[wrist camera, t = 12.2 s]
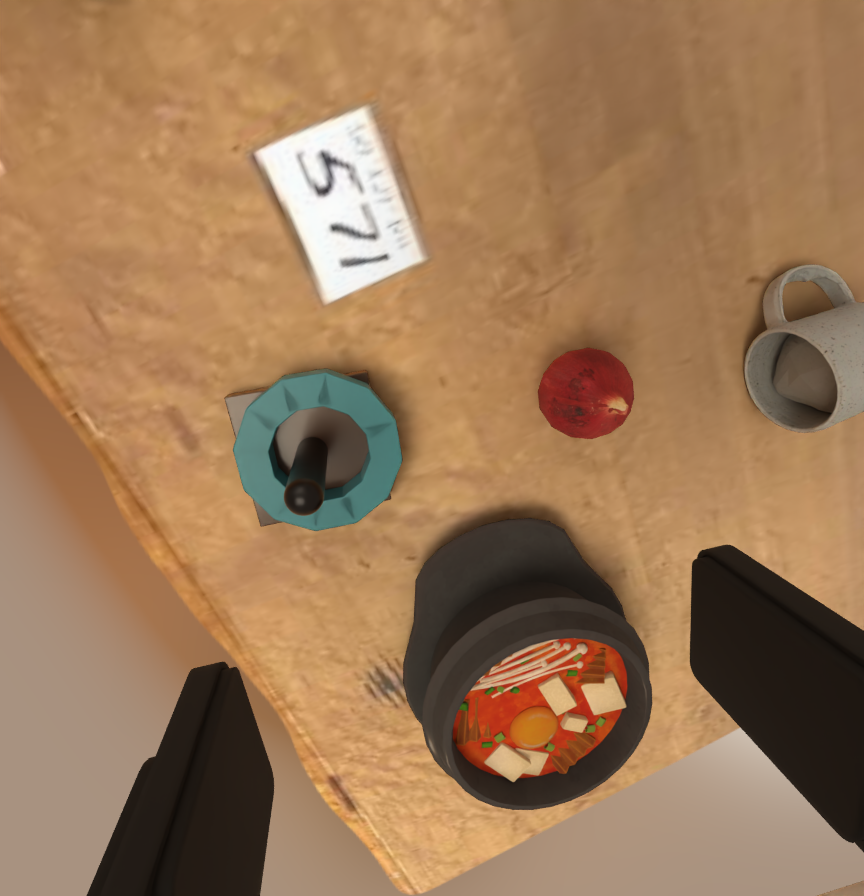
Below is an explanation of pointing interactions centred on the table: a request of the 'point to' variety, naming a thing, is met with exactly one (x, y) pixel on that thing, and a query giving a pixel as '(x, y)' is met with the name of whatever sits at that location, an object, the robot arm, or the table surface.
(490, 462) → the table surface
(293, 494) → the stand
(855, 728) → the robot arm
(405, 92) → the table surface
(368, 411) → the ring
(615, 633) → the casserole
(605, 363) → the onion
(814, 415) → the ceramic mug
